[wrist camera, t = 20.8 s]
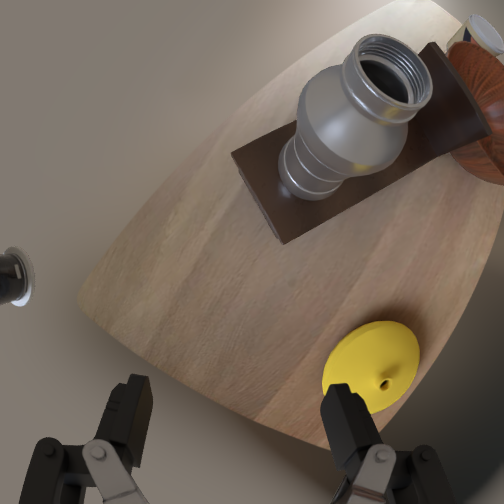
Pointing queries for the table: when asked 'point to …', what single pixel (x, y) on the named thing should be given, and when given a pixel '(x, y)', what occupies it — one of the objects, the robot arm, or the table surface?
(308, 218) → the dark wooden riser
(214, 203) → the table surface
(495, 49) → the coffee cup
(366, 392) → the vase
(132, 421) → the robot arm
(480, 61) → the bowl
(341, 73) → the plastic bottle
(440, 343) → the table surface
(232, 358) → the table surface
